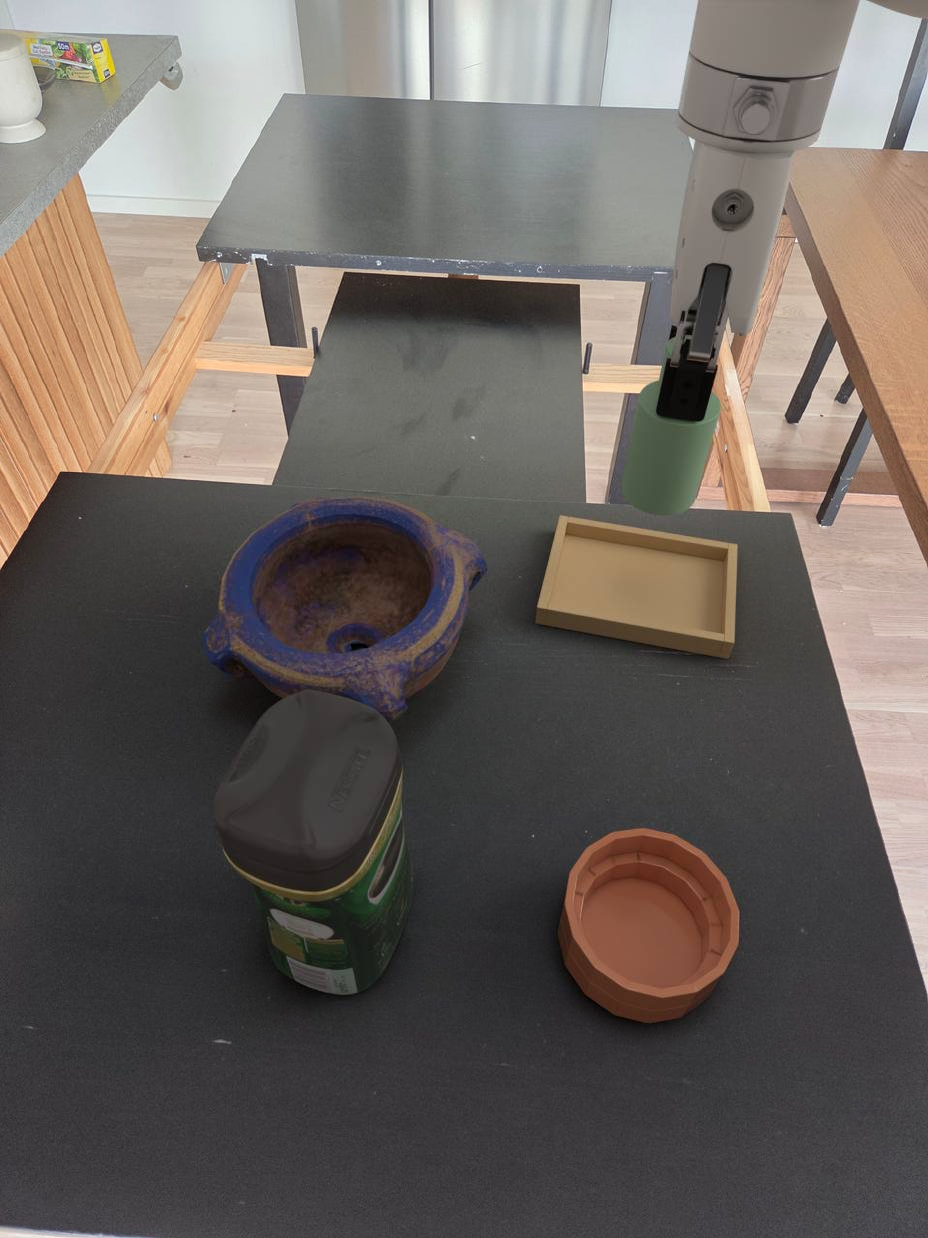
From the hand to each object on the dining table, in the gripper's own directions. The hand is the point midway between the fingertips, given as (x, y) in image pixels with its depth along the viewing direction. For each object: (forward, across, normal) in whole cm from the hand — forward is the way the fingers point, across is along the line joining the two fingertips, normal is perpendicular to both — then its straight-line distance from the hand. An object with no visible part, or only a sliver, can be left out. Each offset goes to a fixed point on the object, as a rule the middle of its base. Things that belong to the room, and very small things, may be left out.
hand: (681, 396), depth 58 cm
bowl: (+19, -13, +21) cm, 31 cm away
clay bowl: (+19, -30, -3) cm, 36 cm away
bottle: (+8, 0, 0) cm, 8 cm away
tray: (+19, 0, 0) cm, 19 cm away
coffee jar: (+19, -33, +15) cm, 41 cm away
